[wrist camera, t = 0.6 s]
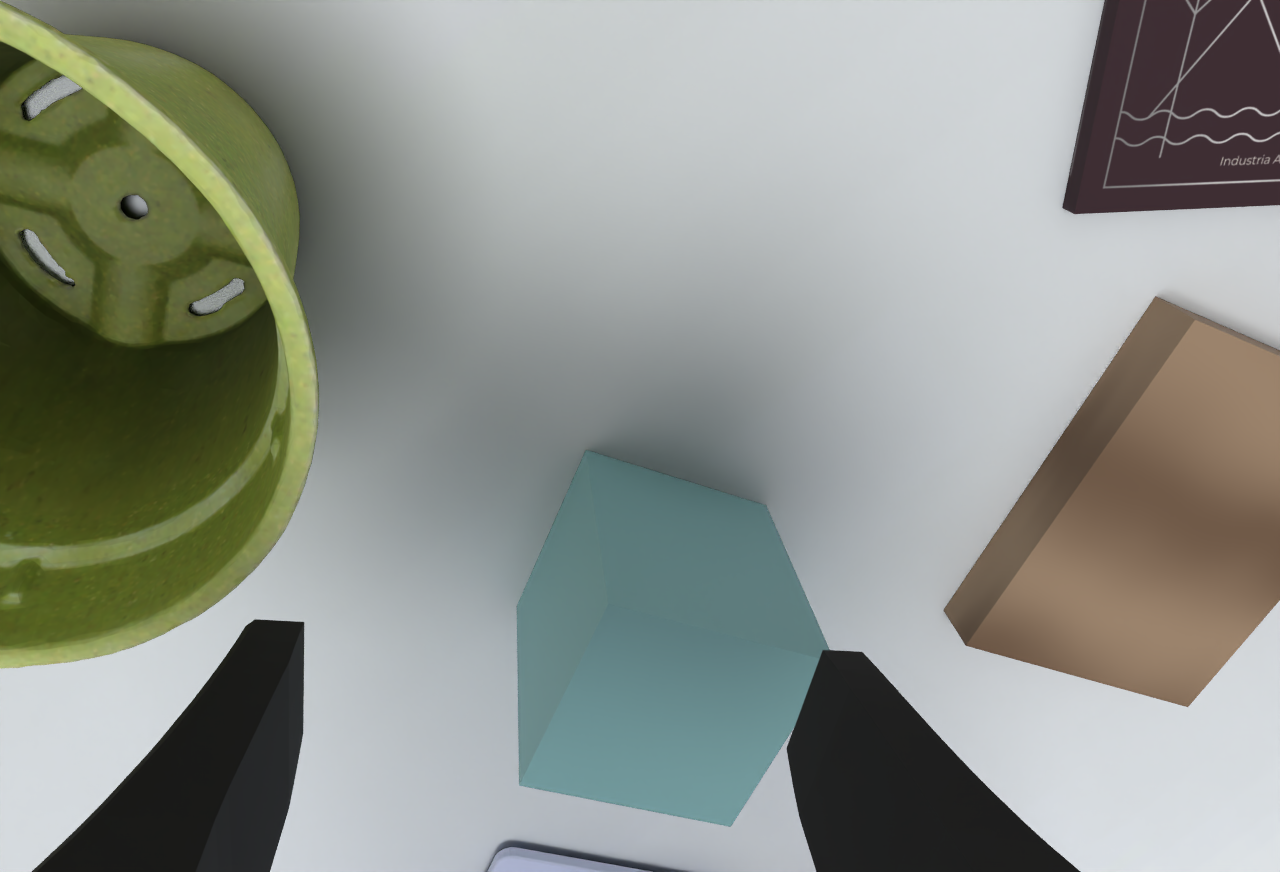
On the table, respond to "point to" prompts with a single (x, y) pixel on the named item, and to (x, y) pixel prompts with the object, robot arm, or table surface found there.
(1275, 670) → the table surface
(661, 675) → the teal block
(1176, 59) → the chocolate bar
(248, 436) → the plant pot
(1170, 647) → the walnut slab
